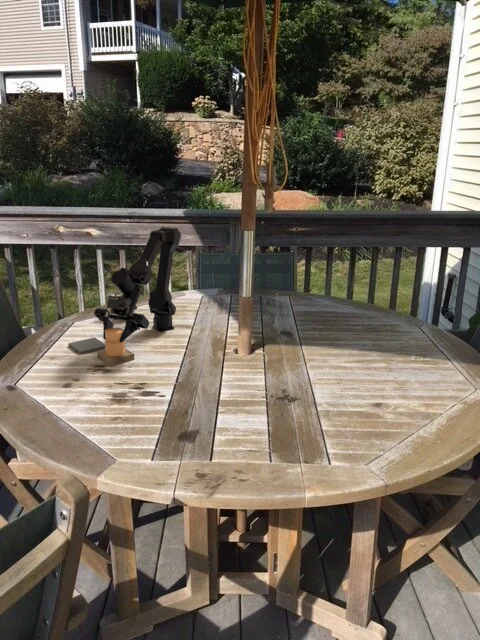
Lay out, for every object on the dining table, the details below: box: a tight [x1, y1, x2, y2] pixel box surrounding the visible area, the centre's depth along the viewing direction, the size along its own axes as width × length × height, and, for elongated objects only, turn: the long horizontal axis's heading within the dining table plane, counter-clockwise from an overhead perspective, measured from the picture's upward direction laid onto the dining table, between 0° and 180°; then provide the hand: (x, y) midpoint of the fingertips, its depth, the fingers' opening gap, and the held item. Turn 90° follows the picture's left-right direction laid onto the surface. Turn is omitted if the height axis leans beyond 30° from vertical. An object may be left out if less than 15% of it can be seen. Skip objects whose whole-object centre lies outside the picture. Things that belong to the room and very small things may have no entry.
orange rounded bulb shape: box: [104, 326, 126, 356], centre depth 179 cm, size 6×6×8 cm
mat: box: [67, 337, 105, 355], centre depth 190 cm, size 10×10×1 cm
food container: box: [106, 291, 136, 314], centre depth 221 cm, size 12×6×10 cm, turn 84°
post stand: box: [96, 348, 135, 366], centre depth 180 cm, size 9×9×6 cm
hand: (112, 340), depth 178 cm, fingers closed on orange rounded bulb shape, 6 cm apart
